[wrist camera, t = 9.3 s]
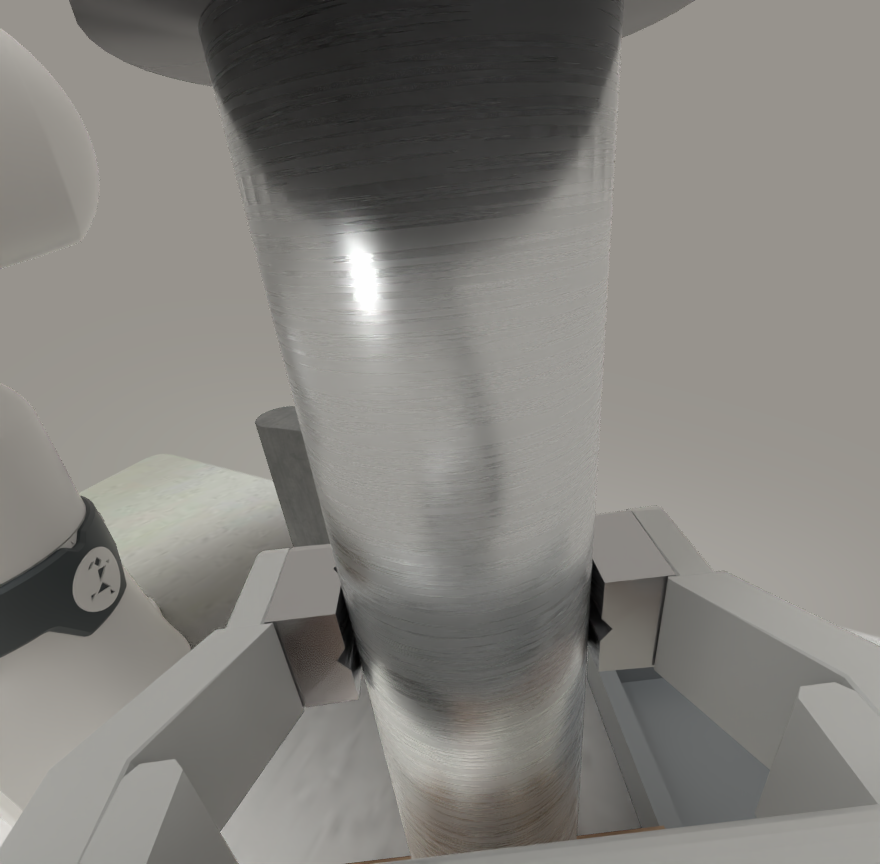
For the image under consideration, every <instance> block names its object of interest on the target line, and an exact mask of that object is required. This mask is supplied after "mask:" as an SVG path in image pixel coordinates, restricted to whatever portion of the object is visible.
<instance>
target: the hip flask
mask: <svg viewBox="0 0 880 864" xmlns="http://www.w3.org/2000/svg"><path fill="white" fill-rule="evenodd" d="M255 424H256V427H257V430H258V433H259V437H260V440H261V443H262V446H263V449H264V453H265V456H266V459H267V462H268V466H269V469H270V472H271V476H272V479H273V482H274V485H275V488H276V492H277V495H278V498H279V501H280V505H281V508H282V511H283V514H284V518H285V521H286V524H287V527H288V531H289V534H290V537H291V540H292V544H293V547H301V546H312V545H323V544H330V541H329V537H328V533H327V529H326V525H325V521H324V518H323V514H322V510H321V506H320V502H319V498H318V494H317V490H316V486H315V483H314V479H313V475H312V471H311V467H310V463H309V459H308V455H307V452H306V448H305V444H304V440H303V436H302V432H301V428H300V424H299V420H298V417H297V413H296V409H295V406H294V407H293V406H290V407H282V408H277V409H273V410H270V411H268V412H266V413H264V414H262V415H260V416H259V417H258V418H257V419H256V421H255Z"/></svg>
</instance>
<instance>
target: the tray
mask: <svg viewBox="0 0 880 864" xmlns="http://www.w3.org/2000/svg"><path fill="white" fill-rule="evenodd" d="M587 679H588V682H589V684H590V687H591V690H592V693H593V695H594V698H595V701H596V704H597V706H598V709H599V712H600V715H601V717H602V720H603V723H604V726H605V728H606V731H607V734H608V736H609V739H610V742H611V745H612V747H613V750H614V753H615V756H616V758H617V761H618V764H619V767H620V769H621V772H622V775H623V778H624V780H625V783H626V786H627V789H628V791H629V794H630V797H631V799H632V802H633V805H634V808H635V810H636V813H637V816H638V819H639V821H640V824H641V827H642V828H647V827H656V826H664V827H665V829H670V828H679V827H687V826H696V825H704V824H713V823H721V822H730V821H738V820H747V819H755V818H757V817H756V815H755V811H756V808H757V805H758V803H759V800H760V797H761V794H762V791H763V789H764V786H765V783H766V780H767V778H768V775H769V772H770V769H768V768H767V767H766V766H765V765H764V764H763V763H761V762H760V761H759V760H758V759H757V758H756V757H754V756H753V755H752V754H751V753H750V752H749V751H748V750H746V749H745V748H744V747H743V746H742V745H741V744H739V743H738V742H737V741H736V740H735V739H734V738H732V737H731V736H730V735H729V734H728V733H727V732H725V731H724V730H723V729H722V728H721V727H720V726H719V725H717V724H716V723H715V722H714V721H713V720H712V719H710V718H709V717H708V716H707V715H706V714H705V713H703V712H702V711H701V710H700V709H699V708H698V707H696V706H695V705H694V704H693V703H692V702H691V701H690V700H688V699H687V698H686V697H685V696H684V695H683V694H681V693H680V692H679V691H678V690H677V689H676V688H674V687H673V686H672V685H671V684H670V683H669V682H667V681H666V680H665V679H664V678H663V677H662V676H661V675H659V674H658V673H657V672H656V671H655V670H654V667H646V668H635V669H623V670H612V671H600V672H598V669H597V667H596V664H595V662H594V659H593V657H592V654H591V652H590V650H589V647H588V665H587Z"/></svg>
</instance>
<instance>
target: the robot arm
mask: <svg viewBox="0 0 880 864" xmlns="http://www.w3.org/2000/svg"><path fill="white" fill-rule="evenodd" d="M98 199H99V172H98V165H97V159H96V156H95V152H94V148H93V145H92V142H91V139H90V137H89V134H88V132H87V130H86V127H85V125H84V123H83V121H82V119H81V117H80V115H79V114H78V112H77V110H76V109H75V107H74V105H73V104H72V102H71V100H70V99H69V98H68V96H67V95H66V94H65V92H64V91H63V89H62V88H61V86H60V85H59V84H58V83H57V81H56V80H55V79H54V78H53V77H52V75H51V74H50V73H49V72H48V71H47V69H46V68H45V67H44V66H43V65H42V64H41V63H40V62H39V61H38V60H37V59H36V58H35V57H34V56H33V55H32V54H31V53H30V52H29V51H28V50H27V49H25V48H24V47H23V46H22V45H21V44H20V43H19V42H17V41H16V40H15V39H14V38H13V37H12V36H10V35H9V34H8V33H6V32H5V31H4V30H2V29H1V28H0V269H1V268H4V267H8V266H11V265H15V264H17V263H21V262H24V261H28V260H31V259H34V258H37V257H40V256H43V255H46V254H48V253H51V252H54V251H57V250H60V249H63V248H66V247H68V246H71V245H74V244H77V243H79V242H81V241H82V239H83V238H84V237H85V235H86V233H87V232H88V230H89V228H90V226H91V224H92V222H93V219H94V216H95V213H96V210H97V205H98ZM588 647H589V650H590V652H591V654H592V657H593V659H594V662H595V664H596V667H597V669H598V672H600V671H612V670H623V669H635V668H646V667H654V670H655V671H656V672H657V673H658V674H659V675H661V676H662V677H663V678H664V679H665V680H666V681H667V682H669V683H670V684H671V685H672V686H673V687H674V688H676V689H677V690H678V691H679V692H680V693H681V694H683V695H684V696H685V697H686V698H687V699H688V700H690V701H691V702H692V703H693V704H694V705H695V706H696V707H698V708H699V709H700V710H701V711H702V712H703V713H705V714H706V715H707V716H708V717H709V718H710V719H712V720H713V721H714V722H715V723H716V724H717V725H719V726H720V727H721V728H722V729H723V730H724V731H725V732H727V733H728V734H729V735H730V736H731V737H732V738H734V739H735V740H736V741H737V742H738V743H739V744H741V745H742V746H743V747H744V748H745V749H746V750H748V751H749V752H750V753H751V754H752V755H753V756H754V757H756V758H757V759H758V760H759V761H760V762H761V763H763V764H764V765H765V766H766V767H767V768H768V769H770V772H769V775H768V778H767V780H766V783H765V786H764V789H763V791H762V794H761V797H760V800H759V803H758V805H757V808H756V811H755V815H756V817H757V818H755V819H747V820H738V821H730V822H721V823H713V824H704V825H696V826H687V827H679V828H670V829H662V830H653V831H645V832H636V833H628V834H619V835H611V836H602V837H593V838H585V839H576V840H568V841H559V842H551V843H543V844H534V845H526V846H517V847H509V848H500V849H492V850H483V851H475V852H467V853H458V854H450V855H441V856H433V857H424V858H416V859H408V860H399V861H391V862H382V863H374V864H880V646H878V645H876V644H874V643H872V642H870V641H868V640H866V639H864V638H862V637H860V636H858V635H856V634H854V633H852V632H850V631H847V630H845V629H843V628H841V627H839V626H837V625H835V624H833V623H831V622H829V621H827V620H825V619H823V618H821V617H819V616H817V615H815V614H812V613H810V612H808V611H806V610H804V609H802V608H800V607H798V606H796V605H794V604H792V603H790V602H788V601H786V600H783V599H782V598H780V597H777V596H776V595H773V594H771V593H769V592H767V591H765V590H763V589H761V588H759V587H757V586H755V585H753V584H750V583H749V582H747V581H744V580H742V579H741V578H738V577H736V576H734V575H732V574H730V573H728V572H726V571H718V572H715V571H714V570H713V569H712V568H711V567H710V565H709V564H708V563H707V562H706V561H705V559H704V558H703V557H702V556H701V555H700V553H699V552H698V551H697V550H696V548H695V547H694V546H693V545H692V543H691V542H690V541H689V540H688V539H687V537H686V536H685V535H684V534H683V533H682V531H681V530H680V529H679V528H678V526H677V525H676V524H675V523H674V522H673V520H672V519H671V518H670V517H669V516H668V514H667V513H666V512H665V511H664V509H663V508H661V507H659V506H657V505H654V506H647V507H640V508H632V509H627V510H626V511H617V512H608V513H600V514H595V523H594V541H593V558H592V576H591V594H590V611H589V629H588ZM361 677H362V665H361V661H360V657H359V653H358V650H357V646H356V642H355V638H354V634H353V630H352V626H351V622H350V619H349V615H348V611H347V607H346V603H345V599H344V595H343V591H342V587H341V584H340V580H339V576H338V572H337V568H336V564H335V560H334V556H333V553H332V549H331V545H330V544H323V545H312V546H301V547H293V548H284V549H274V550H264V551H262V552H261V553H259V554H258V555H257V557H256V559H255V561H254V563H253V566H252V568H251V570H250V572H249V575H248V577H247V579H246V582H245V584H244V586H243V589H242V591H241V593H240V596H239V598H238V600H237V602H236V605H235V607H234V609H233V612H232V614H231V616H230V619H229V621H228V623H227V626H226V628H224V629H217V630H215V631H213V632H212V633H211V634H210V635H209V636H207V637H206V638H205V639H204V640H203V641H202V642H200V643H199V644H198V645H197V646H196V647H194V648H193V649H192V650H191V648H190V645H189V643H188V642H187V640H186V639H185V637H184V636H183V635H182V634H181V633H180V632H178V631H177V630H176V629H175V628H174V627H173V626H172V625H171V624H170V623H169V622H168V621H167V620H166V619H165V618H164V617H163V616H162V613H161V611H160V608H159V607H158V605H157V604H156V603H155V601H154V600H153V599H152V598H149V597H147V596H146V595H145V594H144V592H143V591H142V590H141V588H140V587H139V586H138V584H137V583H136V582H135V580H134V579H133V578H132V576H131V575H130V574H129V572H128V571H127V570H126V568H125V567H124V566H123V564H122V563H121V560H120V557H119V554H118V550H117V546H116V543H115V541H114V540H113V538H112V536H111V534H110V532H109V530H108V528H107V527H106V525H105V523H104V519H103V517H102V516H101V514H100V513H99V512H98V511H97V509H96V508H95V506H94V504H93V503H92V502H91V501H90V500H89V499H87V498H85V497H83V496H80V495H79V493H78V491H77V489H76V487H75V485H74V483H73V481H72V479H71V477H70V476H69V474H68V472H67V470H66V468H65V466H64V464H63V462H62V460H61V459H60V456H59V455H58V453H57V451H56V449H55V447H54V445H53V443H52V441H51V439H50V438H49V436H48V434H47V432H46V430H45V428H44V426H43V424H42V423H41V420H40V419H39V417H38V415H37V413H36V411H35V409H34V408H33V407H32V406H31V404H30V403H29V402H28V401H27V400H26V399H25V398H23V397H22V396H21V395H20V394H19V393H17V392H16V391H14V390H12V389H11V388H10V387H8V386H6V385H4V384H2V383H0V864H239V863H238V862H237V860H236V858H235V856H234V855H233V853H232V851H231V850H230V848H229V846H228V845H227V843H226V841H225V840H224V838H223V836H222V835H221V833H220V831H221V830H222V829H223V827H224V826H225V824H226V823H227V821H228V820H229V818H230V817H231V816H232V814H233V813H234V811H235V810H236V808H237V807H238V806H239V804H240V803H241V801H242V800H243V798H244V797H245V796H246V794H247V793H248V791H249V790H250V788H251V787H252V785H253V784H254V783H255V781H256V780H257V778H258V777H259V775H260V774H261V773H262V771H263V770H264V768H265V767H266V765H267V764H268V763H269V761H270V760H271V758H272V757H273V755H274V754H275V752H276V751H277V750H278V748H279V747H280V745H281V744H282V742H283V741H284V740H285V738H286V737H287V735H288V734H289V732H290V731H291V730H292V728H293V727H294V725H295V724H296V722H297V721H298V719H299V718H300V717H301V715H302V714H303V712H304V708H305V707H312V706H318V705H325V704H332V703H339V702H346V701H353V700H359V695H360V686H361Z"/></svg>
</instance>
